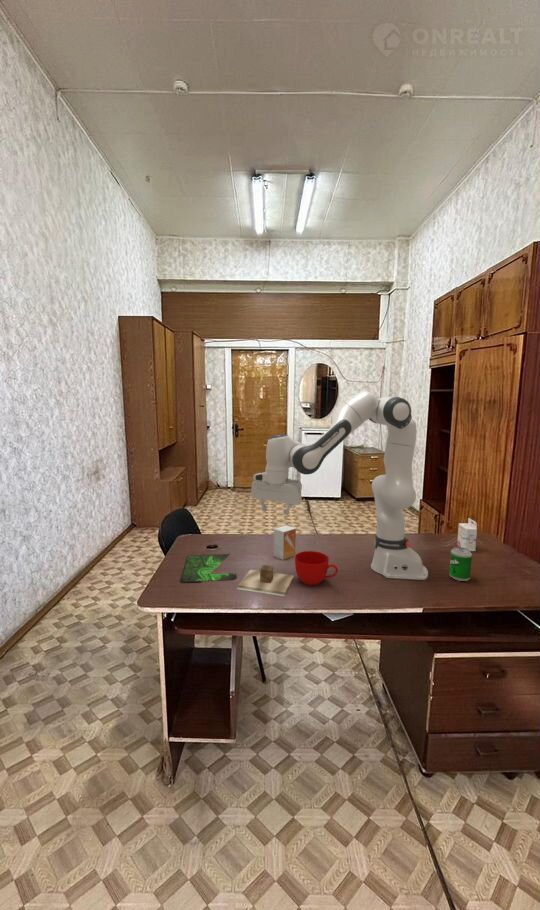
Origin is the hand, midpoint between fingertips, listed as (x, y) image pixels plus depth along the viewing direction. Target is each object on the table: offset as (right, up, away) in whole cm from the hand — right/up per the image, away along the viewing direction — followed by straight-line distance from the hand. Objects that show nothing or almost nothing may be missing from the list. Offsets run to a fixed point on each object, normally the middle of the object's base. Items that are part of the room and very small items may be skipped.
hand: (275, 512), depth 146 cm
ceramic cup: (+16, -28, 0) cm, 32 cm away
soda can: (+73, -27, +5) cm, 78 cm away
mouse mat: (-27, -26, +14) cm, 40 cm away
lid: (-3, -27, 0) cm, 27 cm away
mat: (-3, -27, 0) cm, 27 cm away
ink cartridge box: (+92, -23, +36) cm, 102 cm away
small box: (+5, -24, +26) cm, 36 cm away
